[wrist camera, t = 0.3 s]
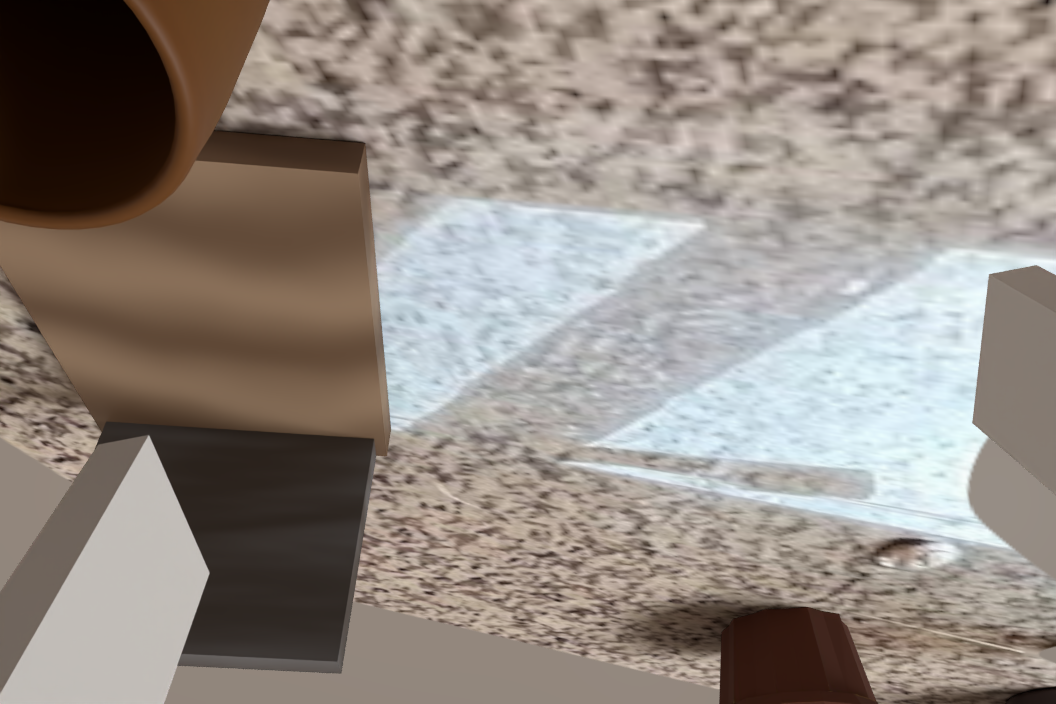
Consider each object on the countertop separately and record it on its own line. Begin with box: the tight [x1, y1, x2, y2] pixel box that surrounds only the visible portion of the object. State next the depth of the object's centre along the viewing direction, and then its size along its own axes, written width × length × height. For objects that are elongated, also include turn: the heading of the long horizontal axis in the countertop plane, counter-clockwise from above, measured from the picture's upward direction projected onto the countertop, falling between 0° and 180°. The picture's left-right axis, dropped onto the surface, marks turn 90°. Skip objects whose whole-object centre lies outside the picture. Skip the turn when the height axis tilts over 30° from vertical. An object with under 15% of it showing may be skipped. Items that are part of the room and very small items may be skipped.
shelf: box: [0, 131, 391, 673], centre depth 29 cm, size 17×13×12 cm
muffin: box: [719, 607, 878, 704], centre depth 57 cm, size 12×11×10 cm
